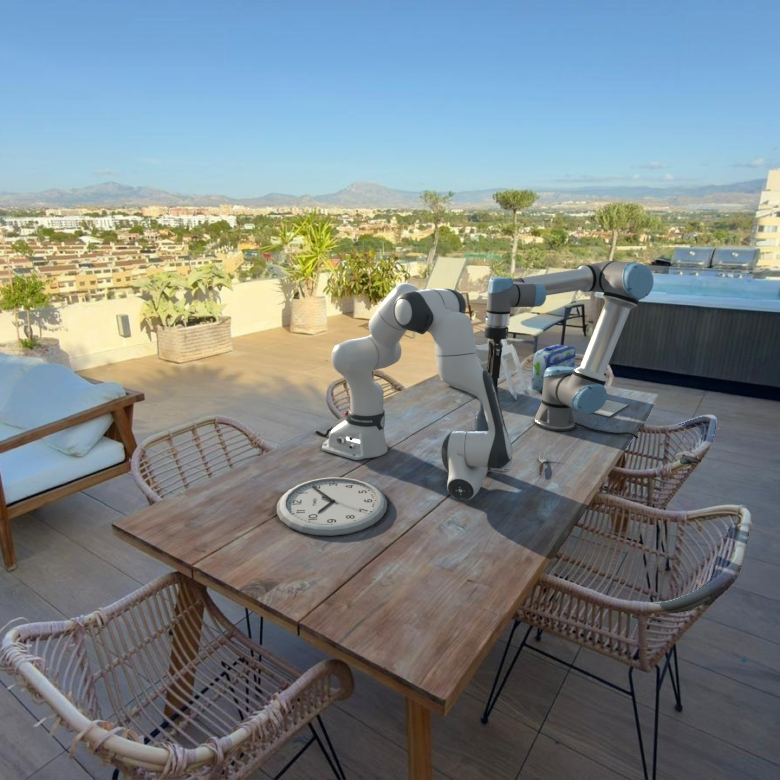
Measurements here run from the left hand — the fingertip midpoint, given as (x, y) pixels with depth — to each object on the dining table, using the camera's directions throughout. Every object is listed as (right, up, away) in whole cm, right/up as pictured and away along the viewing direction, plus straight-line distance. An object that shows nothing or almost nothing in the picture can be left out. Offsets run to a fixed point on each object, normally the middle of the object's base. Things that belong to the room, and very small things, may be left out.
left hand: (482, 448), depth 164 cm
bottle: (0, -7, +1) cm, 7 cm away
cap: (+5, +19, +11) cm, 23 cm away
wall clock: (-45, -13, -22) cm, 52 cm away
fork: (+20, -6, +4) cm, 21 cm away
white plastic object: (+13, +17, +79) cm, 82 cm away
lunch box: (+48, +19, +85) cm, 100 cm away
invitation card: (+62, +11, +62) cm, 89 cm away
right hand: (+5, +17, +12) cm, 21 cm away
